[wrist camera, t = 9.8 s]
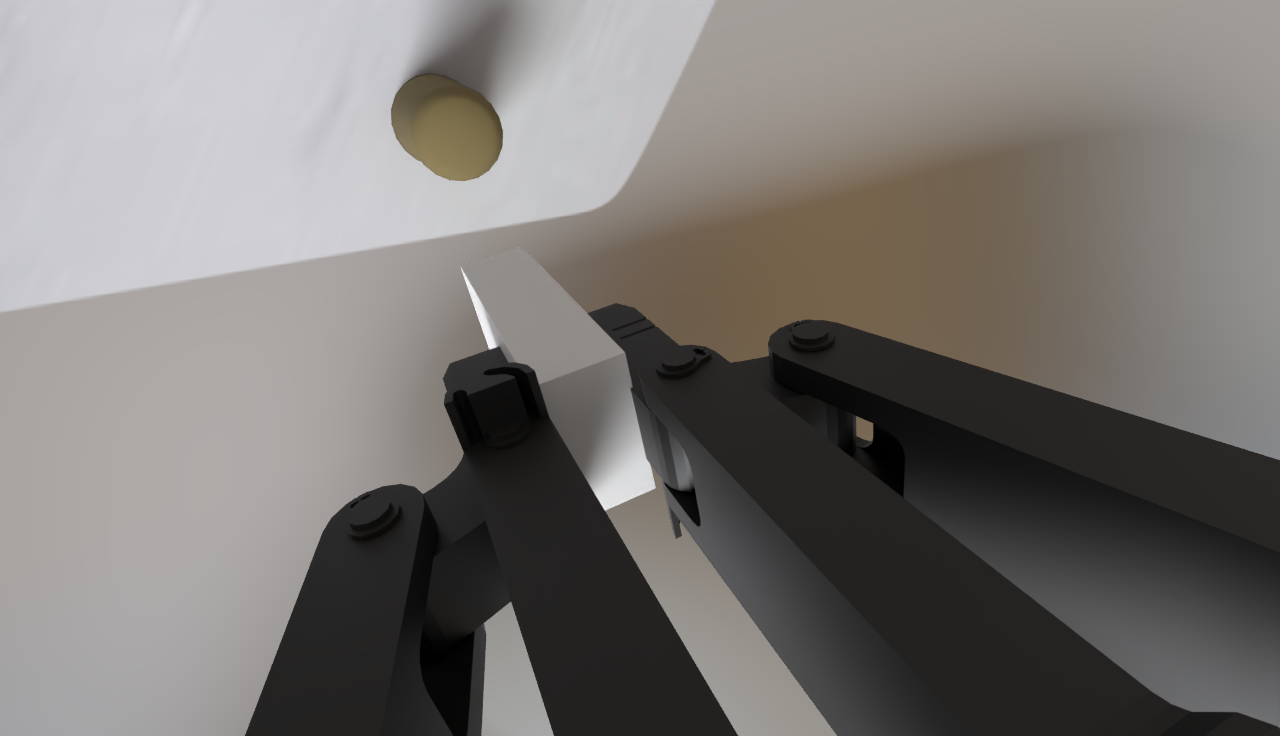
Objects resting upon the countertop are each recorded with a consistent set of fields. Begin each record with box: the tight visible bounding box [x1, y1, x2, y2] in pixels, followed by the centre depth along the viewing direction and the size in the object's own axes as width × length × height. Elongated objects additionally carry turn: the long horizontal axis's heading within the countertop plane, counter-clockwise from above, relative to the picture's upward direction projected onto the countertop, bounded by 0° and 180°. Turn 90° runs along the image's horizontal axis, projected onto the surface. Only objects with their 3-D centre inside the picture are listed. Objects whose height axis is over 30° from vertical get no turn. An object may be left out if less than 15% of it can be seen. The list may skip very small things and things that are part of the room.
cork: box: [391, 74, 503, 181], centre depth 39 cm, size 6×6×11 cm
